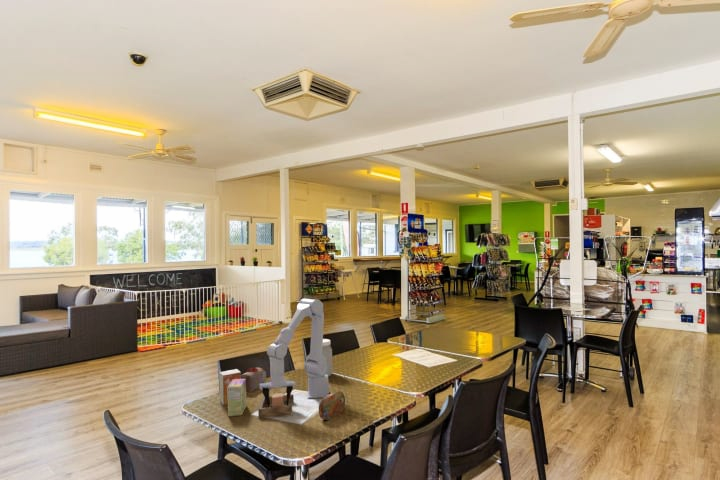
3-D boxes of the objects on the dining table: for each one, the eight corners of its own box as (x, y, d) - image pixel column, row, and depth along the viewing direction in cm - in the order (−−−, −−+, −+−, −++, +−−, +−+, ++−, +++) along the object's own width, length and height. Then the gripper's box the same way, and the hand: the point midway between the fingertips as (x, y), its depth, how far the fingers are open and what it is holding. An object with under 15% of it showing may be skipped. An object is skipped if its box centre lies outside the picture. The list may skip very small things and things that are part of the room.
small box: (223, 405, 179) (222, 375, 179) (219, 401, 184) (218, 371, 184) (242, 401, 183) (241, 371, 183) (237, 397, 189) (236, 368, 189)
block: (284, 407, 175) (283, 393, 175) (283, 411, 170) (283, 397, 170) (273, 408, 174) (273, 393, 174) (272, 412, 170) (271, 397, 170)
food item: (253, 382, 208) (253, 363, 208) (267, 384, 206) (267, 364, 206) (238, 392, 195) (237, 371, 195) (252, 393, 193) (252, 372, 193)
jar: (325, 370, 224) (324, 337, 224) (336, 374, 217) (335, 340, 217) (310, 375, 218) (309, 340, 218) (321, 379, 210) (320, 343, 211)
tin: (324, 423, 158) (323, 401, 158) (317, 421, 159) (316, 399, 159) (345, 409, 170) (345, 389, 171) (339, 408, 172) (339, 387, 172)
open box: (293, 402, 180) (293, 394, 180) (292, 415, 166) (291, 406, 166) (262, 404, 179) (262, 396, 179) (258, 418, 164) (258, 409, 164)
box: (233, 406, 177) (232, 379, 177) (246, 405, 178) (246, 378, 178) (227, 416, 167) (226, 387, 167) (241, 415, 167) (241, 386, 168)
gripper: (258, 376, 168) (259, 410, 167) (294, 374, 169) (295, 407, 169) (260, 371, 175) (261, 403, 174) (295, 369, 176) (296, 401, 176)
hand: (278, 405), depth 172 cm, fingers open, 7 cm apart
